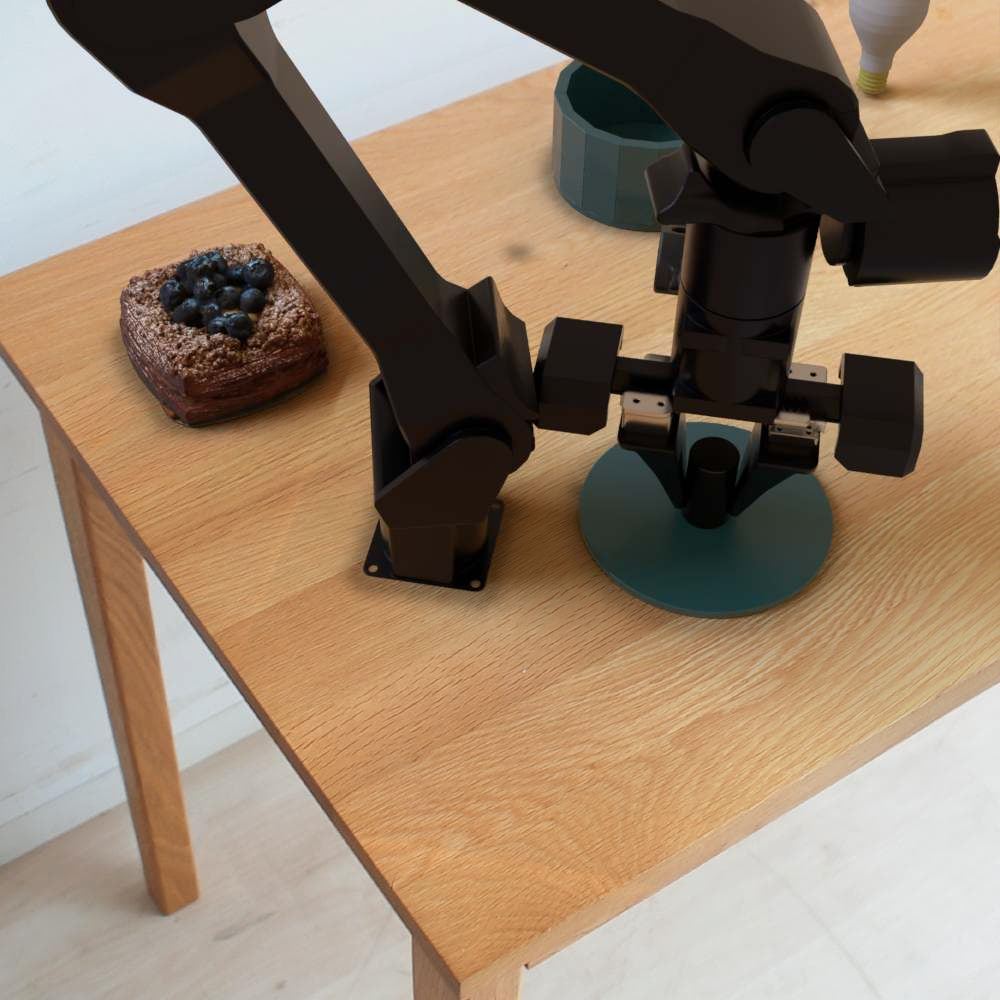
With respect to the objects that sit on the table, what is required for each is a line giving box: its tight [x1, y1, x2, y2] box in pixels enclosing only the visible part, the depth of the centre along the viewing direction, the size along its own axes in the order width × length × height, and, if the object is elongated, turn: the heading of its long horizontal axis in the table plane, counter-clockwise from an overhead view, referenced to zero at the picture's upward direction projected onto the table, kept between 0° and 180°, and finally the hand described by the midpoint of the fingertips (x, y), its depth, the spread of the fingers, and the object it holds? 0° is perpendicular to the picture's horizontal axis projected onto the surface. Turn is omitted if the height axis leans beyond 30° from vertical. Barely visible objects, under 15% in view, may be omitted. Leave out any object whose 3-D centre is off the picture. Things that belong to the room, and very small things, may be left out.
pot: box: [551, 59, 687, 232], centre depth 97 cm, size 13×13×6 cm
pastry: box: [118, 242, 331, 427], centre depth 85 cm, size 11×12×6 cm
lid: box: [578, 421, 834, 619], centre depth 76 cm, size 14×14×6 cm
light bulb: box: [848, 0, 931, 96], centre depth 102 cm, size 6×5×10 cm
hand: (706, 506), depth 77 cm, fingers closed on lid, 2 cm apart
